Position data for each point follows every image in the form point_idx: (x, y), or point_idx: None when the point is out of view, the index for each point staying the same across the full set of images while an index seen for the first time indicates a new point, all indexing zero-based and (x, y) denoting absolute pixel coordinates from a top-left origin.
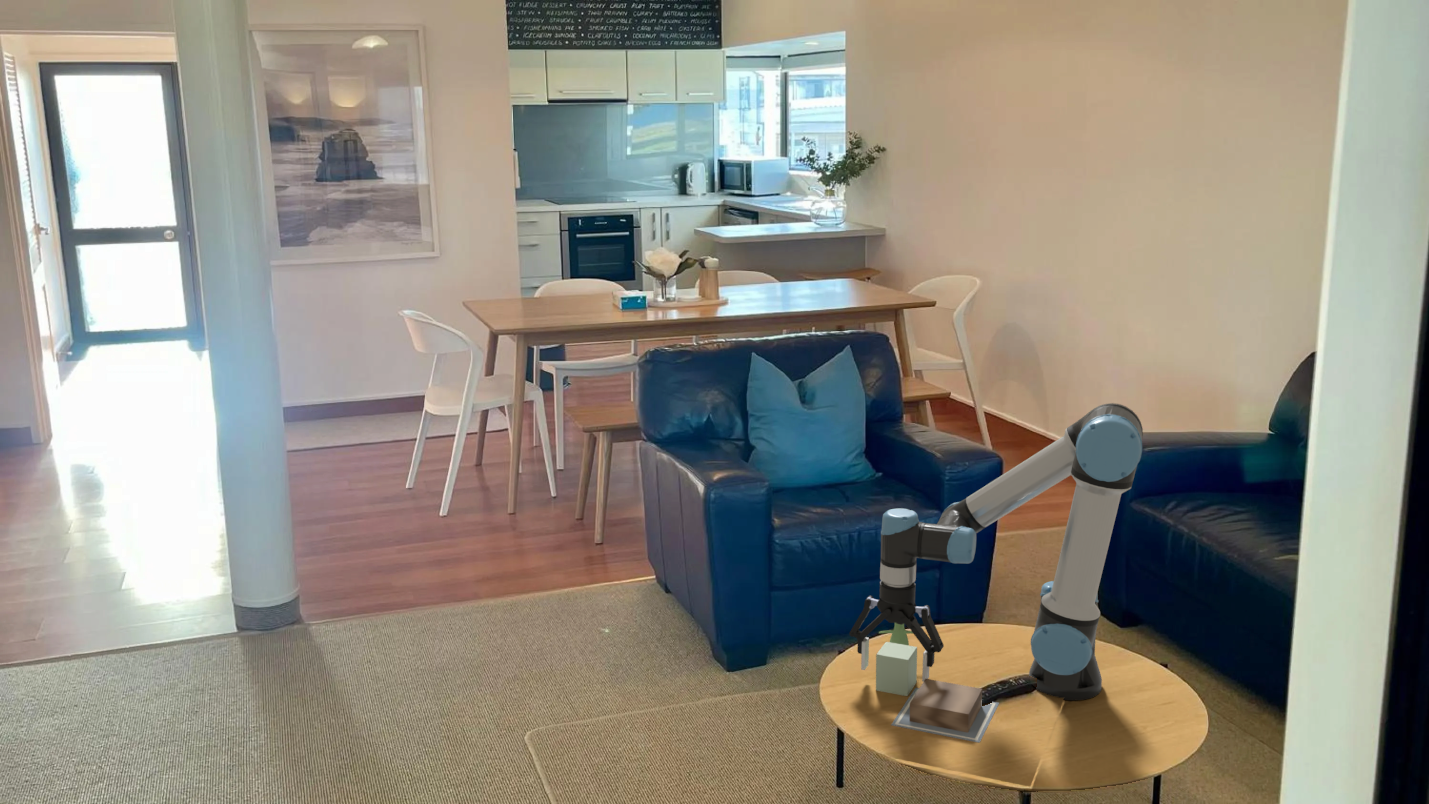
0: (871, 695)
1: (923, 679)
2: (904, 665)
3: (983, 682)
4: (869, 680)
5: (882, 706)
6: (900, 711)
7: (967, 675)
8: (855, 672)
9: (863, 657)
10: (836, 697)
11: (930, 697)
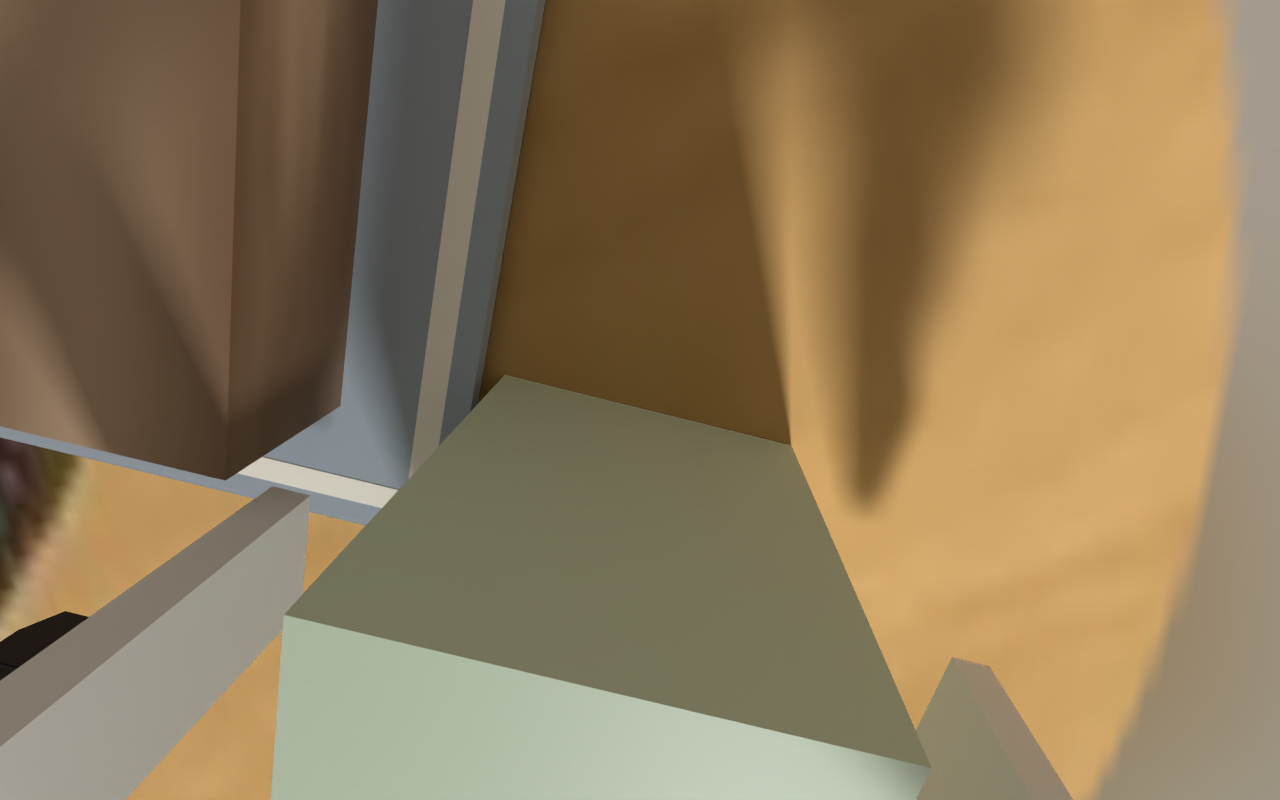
0: (831, 389)
1: (280, 502)
2: (409, 555)
3: None
4: None
5: (724, 178)
6: (528, 23)
7: None
8: None
9: (1045, 794)
10: (1187, 300)
11: None
